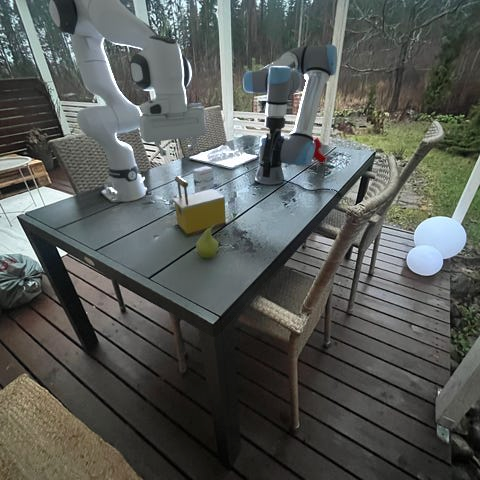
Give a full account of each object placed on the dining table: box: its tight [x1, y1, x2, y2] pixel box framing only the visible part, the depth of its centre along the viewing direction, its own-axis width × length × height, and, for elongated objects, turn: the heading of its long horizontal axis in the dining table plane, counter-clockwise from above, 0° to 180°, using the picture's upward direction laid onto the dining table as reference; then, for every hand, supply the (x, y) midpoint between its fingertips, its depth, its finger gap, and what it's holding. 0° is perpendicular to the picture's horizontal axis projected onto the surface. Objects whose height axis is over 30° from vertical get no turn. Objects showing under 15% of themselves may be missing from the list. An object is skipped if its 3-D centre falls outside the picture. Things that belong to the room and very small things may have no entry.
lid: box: [171, 175, 226, 210], centre depth 96 cm, size 17×9×9 cm, turn 123°
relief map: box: [189, 144, 258, 170], centre depth 177 cm, size 27×35×5 cm
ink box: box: [192, 165, 215, 193], centre depth 128 cm, size 8×5×12 cm, turn 135°
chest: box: [174, 198, 227, 238], centre depth 101 cm, size 16×9×11 cm, turn 123°
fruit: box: [195, 221, 219, 259], centre depth 84 cm, size 7×8×12 cm
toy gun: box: [312, 136, 327, 165], centre depth 168 cm, size 18×4×15 cm
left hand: (177, 153), depth 86 cm, fingers open, 8 cm apart
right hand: (270, 170), depth 113 cm, fingers open, 13 cm apart
